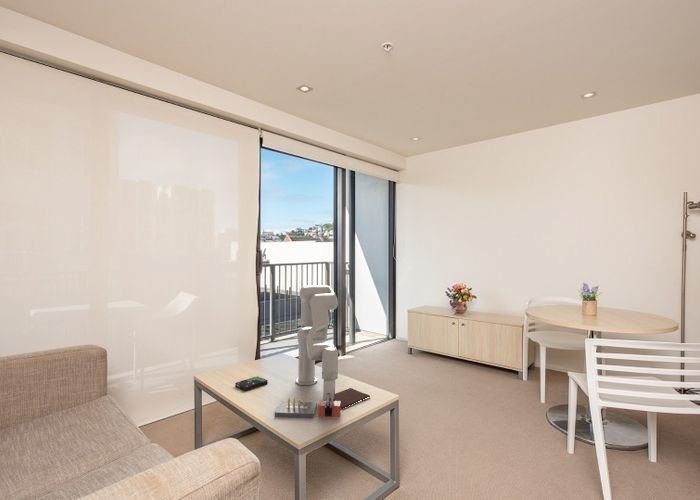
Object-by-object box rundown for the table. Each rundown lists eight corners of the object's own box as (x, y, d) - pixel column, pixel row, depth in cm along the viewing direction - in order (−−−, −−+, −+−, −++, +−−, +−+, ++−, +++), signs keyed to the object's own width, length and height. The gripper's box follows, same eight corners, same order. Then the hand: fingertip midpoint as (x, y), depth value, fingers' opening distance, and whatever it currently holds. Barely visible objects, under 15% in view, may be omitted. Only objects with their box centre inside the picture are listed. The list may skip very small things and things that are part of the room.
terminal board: (281, 405, 174) (281, 393, 174) (317, 406, 173) (317, 394, 173) (274, 416, 162) (274, 403, 162) (313, 418, 161) (313, 405, 161)
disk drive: (245, 392, 190) (267, 384, 201) (245, 387, 190) (267, 379, 201) (234, 387, 197) (257, 380, 208) (234, 382, 197) (257, 375, 208)
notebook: (322, 401, 181) (322, 397, 181) (350, 390, 194) (350, 386, 194) (342, 410, 170) (342, 406, 170) (370, 399, 184) (370, 395, 184)
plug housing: (319, 412, 167) (319, 400, 167) (340, 412, 167) (340, 401, 167) (318, 417, 162) (318, 405, 162) (339, 418, 162) (339, 406, 162)
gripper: (324, 368, 173) (323, 403, 173) (319, 381, 156) (319, 419, 156) (339, 368, 173) (339, 403, 173) (336, 381, 156) (335, 420, 156)
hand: (329, 411), depth 164 cm, fingers open, 9 cm apart
